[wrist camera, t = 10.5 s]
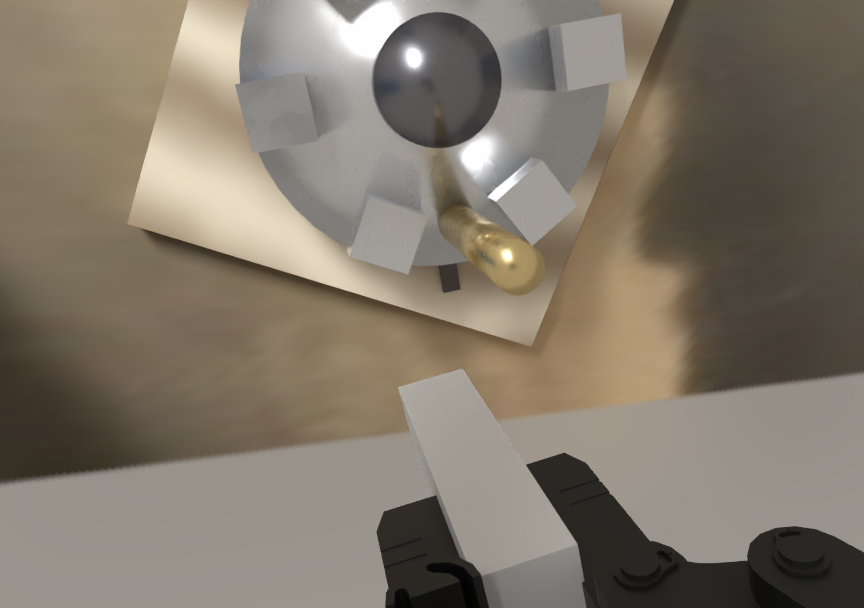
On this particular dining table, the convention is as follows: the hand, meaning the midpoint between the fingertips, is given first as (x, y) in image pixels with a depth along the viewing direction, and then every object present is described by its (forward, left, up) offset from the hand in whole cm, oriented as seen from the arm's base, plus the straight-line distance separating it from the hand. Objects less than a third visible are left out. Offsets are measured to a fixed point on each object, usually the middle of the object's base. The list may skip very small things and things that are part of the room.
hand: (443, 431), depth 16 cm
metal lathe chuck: (-9, +1, -25) cm, 26 cm away
